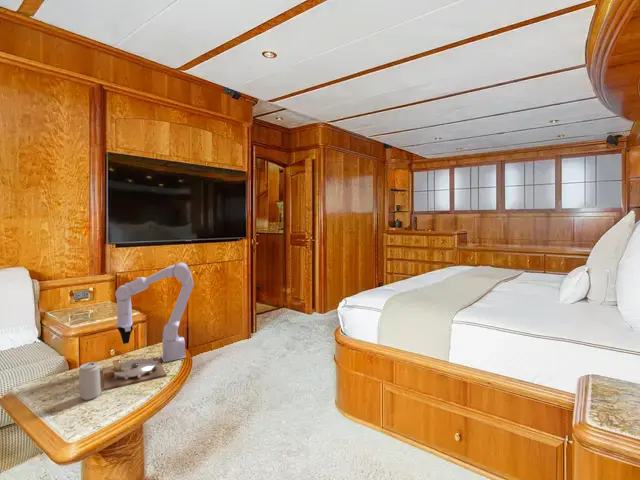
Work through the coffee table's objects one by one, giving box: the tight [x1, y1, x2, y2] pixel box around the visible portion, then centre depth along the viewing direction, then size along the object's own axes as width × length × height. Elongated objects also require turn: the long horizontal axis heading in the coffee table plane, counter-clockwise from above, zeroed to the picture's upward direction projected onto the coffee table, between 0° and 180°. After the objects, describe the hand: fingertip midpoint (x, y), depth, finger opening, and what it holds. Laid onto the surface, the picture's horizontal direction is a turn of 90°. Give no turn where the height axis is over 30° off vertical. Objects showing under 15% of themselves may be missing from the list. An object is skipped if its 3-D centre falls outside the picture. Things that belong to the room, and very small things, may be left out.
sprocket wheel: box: [110, 357, 158, 380], centre depth 154 cm, size 18×18×6 cm
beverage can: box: [78, 361, 102, 401], centre depth 134 cm, size 6×6×12 cm
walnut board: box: [101, 356, 167, 391], centre depth 154 cm, size 22×21×2 cm
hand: (125, 343), depth 162 cm, fingers closed
